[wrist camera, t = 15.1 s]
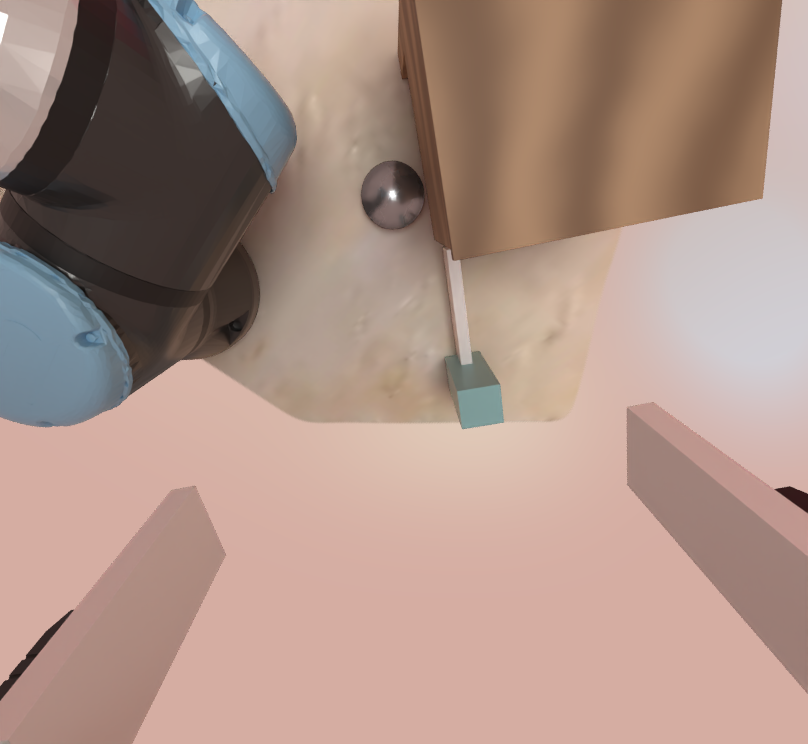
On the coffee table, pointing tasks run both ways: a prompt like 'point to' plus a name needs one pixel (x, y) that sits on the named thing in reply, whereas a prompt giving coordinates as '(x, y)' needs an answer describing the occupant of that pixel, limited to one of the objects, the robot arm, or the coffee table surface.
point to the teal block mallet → (468, 362)
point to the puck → (392, 195)
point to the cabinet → (585, 112)
